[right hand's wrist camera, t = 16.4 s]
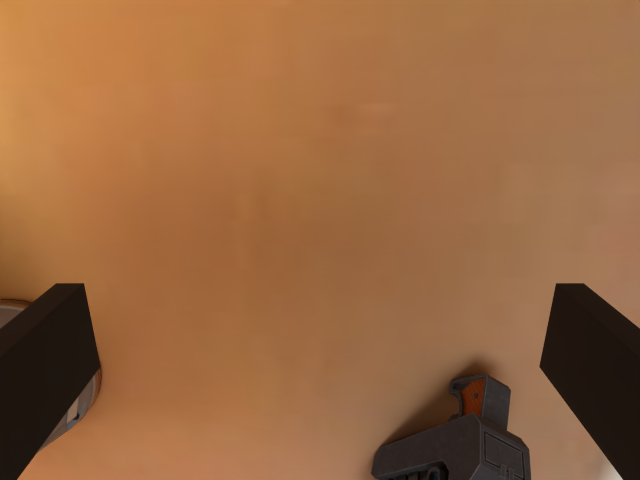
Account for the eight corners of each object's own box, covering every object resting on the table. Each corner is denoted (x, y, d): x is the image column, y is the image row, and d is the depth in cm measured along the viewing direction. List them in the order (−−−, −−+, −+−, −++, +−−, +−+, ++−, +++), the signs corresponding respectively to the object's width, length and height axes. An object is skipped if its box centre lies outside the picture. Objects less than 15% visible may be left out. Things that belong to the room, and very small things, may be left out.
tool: (531, 383, 43) (540, 570, 33) (409, 427, 57) (389, 568, 47) (481, 354, 42) (474, 538, 32) (369, 406, 56) (340, 546, 46)
